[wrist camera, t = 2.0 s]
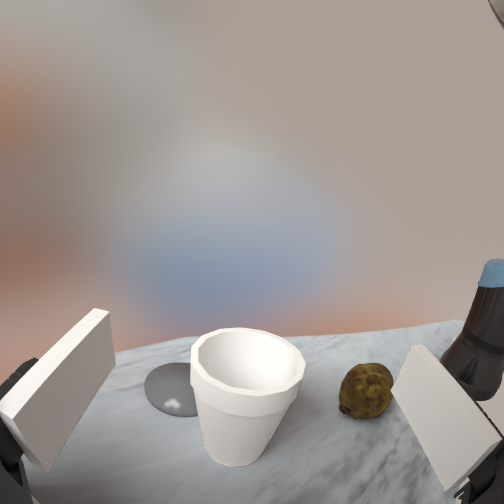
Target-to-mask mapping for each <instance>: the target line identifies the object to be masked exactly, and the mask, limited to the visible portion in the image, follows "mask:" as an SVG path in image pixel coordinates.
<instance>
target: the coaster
mask: <svg viewBox="0 0 504 504" xmlns="http://www.w3.org/2000/svg"><path fill="white" fill-rule="evenodd" d="M190 368H191V364H190V363H169V364H165V365H162V366H159V367H157V368H155V369H154V370H153V371H151V372H150V373H149V375H148V376H147V378H146V380H145V393H146V396H147V399H148V400H149V402H150V403H151V404H152V405H153V406H154V407H155V408H157V409H158V410H160V411H162V412H164V413H166V414H169V415H173V416H178V417H193V416H198V412H197V406H196V401H195V395H194V389H193V387H192V386H191V384H190Z"/></svg>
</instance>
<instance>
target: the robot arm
mask: <svg viewBox="0 0 504 504" xmlns="http://www.w3.org/2000/svg"><path fill="white" fill-rule="evenodd" d="M488 1H489V3H490V6H491V9H492V11H493V12H494V14H495V16H496V18H497V19H498V21H499V23H500V25H501V26H502V28H503V29H504V0H488ZM115 364H116V362H115V355H114V348H113V341H112V332H111V322H110V312H108V311H104V310H100V309H96V308H94V309H93V310H92V311H91V312H89V313H88V314H87V315H86V316H85V317H84V318H83V319H82V320H81V321H80V322H78V323H77V324H76V325H75V326H74V327H73V328H72V329H71V330H70V331H69V332H68V333H67V334H66V335H65V336H63V337H62V338H61V339H60V340H59V341H58V342H57V343H56V344H55V345H54V346H53V347H52V348H51V349H50V350H49V351H48V352H47V353H46V354H45V355H44V356H43V357H42V358H41V359H40V360H39V359H36V358H33V359H31V360H29V361H26V362H25V363H23V364H22V365H21V366H20V367H19V368H18V369H17V370H16V371H15V373H13V374H12V375H11V376H10V377H9V379H7V380H6V381H5V382H4V383H3V384H2V385H1V386H0V504H34V503H33V500H32V497H31V493H30V489H29V486H28V482H27V478H26V474H25V469H24V464H23V462H22V459H21V456H22V455H23V453H24V454H25V455H26V456H27V458H28V459H29V460H30V462H32V463H33V464H35V465H36V466H38V467H40V468H41V469H43V470H45V471H47V472H49V470H50V469H51V467H52V465H53V463H54V462H55V460H56V458H57V456H58V455H59V453H60V451H61V449H62V448H63V446H64V444H65V443H66V441H67V439H68V438H69V436H70V434H71V433H72V431H73V430H74V428H75V426H76V425H77V423H78V421H79V420H80V418H81V417H82V415H83V413H84V412H85V410H86V409H87V407H88V406H89V404H90V402H91V401H92V399H93V398H94V396H95V395H96V393H97V392H98V390H99V389H100V387H101V385H102V384H103V382H104V381H105V379H106V378H107V376H108V375H109V373H110V372H111V370H112V369H113V367H114V366H115ZM503 371H504V260H502V259H492V260H489V261H488V262H487V263H486V264H485V266H484V270H483V272H482V275H481V278H480V280H479V282H478V289H477V292H476V295H475V298H474V301H473V303H472V306H471V310H470V312H469V314H468V317H467V319H466V322H465V324H464V327H463V329H462V332H461V334H460V335H459V336H458V337H457V339H456V340H455V341H454V342H453V344H452V345H451V346H450V347H449V349H448V350H447V351H446V352H445V353H444V354H443V355H442V357H441V359H440V361H438V360H437V359H436V357H435V356H434V355H433V354H432V353H431V352H430V351H429V350H428V349H427V347H426V346H425V345H412V346H411V348H410V351H409V353H408V355H407V357H406V360H405V362H404V364H403V366H402V368H401V371H400V373H399V375H398V377H397V379H396V381H395V383H394V385H393V387H392V389H391V392H392V394H393V396H394V398H395V399H396V401H397V403H398V405H399V406H400V408H401V410H402V412H403V413H404V415H405V417H406V419H407V421H408V422H409V424H410V426H411V428H412V430H413V432H414V433H415V435H416V437H417V439H418V441H419V443H420V444H421V446H422V448H423V450H424V452H425V454H426V456H427V458H428V460H429V462H430V464H431V466H432V468H433V469H434V471H435V473H436V475H437V477H438V479H439V482H440V484H441V486H442V488H443V490H444V492H446V491H448V490H450V489H453V488H455V487H457V486H459V485H460V484H461V483H462V482H463V481H464V480H465V479H466V478H467V477H468V478H469V479H470V481H469V482H468V483H467V484H465V485H464V486H463V487H462V488H461V489H460V490H459V491H458V492H457V493H455V495H454V497H453V498H456V497H457V496H458V495H460V494H461V493H462V492H463V491H464V493H463V494H462V495H461V496H460V497H459V498H458V499H461V500H462V502H461V504H504V436H503V435H502V434H501V432H500V431H499V430H498V428H497V427H496V426H495V424H494V423H493V422H492V421H491V419H490V418H488V416H487V414H486V413H485V412H483V409H482V408H481V407H480V406H479V404H478V403H477V402H476V401H485V400H489V399H490V398H492V397H493V396H494V395H495V393H496V392H497V390H498V388H499V387H500V384H501V381H502V375H503Z"/></svg>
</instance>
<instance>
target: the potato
mask: <svg viewBox="0 0 504 504" xmlns="http://www.w3.org/2000/svg"><path fill="white" fill-rule="evenodd" d="M393 385H394V384H393V378H392V375H391V373H390V371H389V370H388V369H387V368H386V367H385V366H384V365H382V364H379V363H367V364H358V365H356V366H355V367H353V368H352V369H351V370H350V371H349V372H348V373H347V375H346V376H345V378H344V380H343V382H342V384H341V388H340V393H339V401H340V406H339V410H340V412H342V413H343V414H346V413H347V414H348V415H350V416H351V417H352V418H355V419H357V418H361V419H367V418H372V417H374V418H375V417H378V416H380V414H381V413H382V412H383V411H384V410H385V409H386V408H387V407H388V406H389V404H390V402H391V400H392V397H393V394H392V392H391V389H392V387H393Z"/></svg>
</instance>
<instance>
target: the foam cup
mask: <svg viewBox="0 0 504 504" xmlns="http://www.w3.org/2000/svg"><path fill="white" fill-rule="evenodd" d="M305 365H306V363H305V361H304V359H303V357H302V355H301V353H300V352H299V350H298V349H297V348H296V347H294V346H293V345H292V344H290V343H289V342H288V341H286V340H285V339H284V338H281V337H278V336H276V335H273V334H271V333H268V332H265V331H262V330H255V329H247V328H227V329H219V330H216V331H213V332H211V333H208V334H205V335H202V336H201V337H200V338H199V339H198V340H197V341H196V342H195V343H194V345H193V346H192V347H191V368H190V384H191V386H192V387H193V389H194V395H195V401H196V406H197V412H198V417H199V422H200V427H201V432H202V437H203V442H204V446H205V450H206V451H207V453H208V454H209V455H210V457H211V458H212V459H213V460H215V461H217V462H218V463H220V464H222V465H225V466H232V467H241V466H245V465H250V464H251V463H253V462H254V461H255V460H257V459H258V458H259V456H260V455H261V454H262V452H263V451H264V449H265V447H266V446H267V444H268V442H269V441H270V439H271V437H272V436H273V434H274V432H275V431H276V429H277V427H278V425H279V424H280V422H281V420H282V418H283V417H284V415H285V413H286V411H287V409H288V407H289V406H290V404H291V403H292V402H293V401H294V400H295V399H296V396H297V393H298V390H299V387H300V384H301V381H302V377H303V373H304V369H305Z"/></svg>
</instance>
